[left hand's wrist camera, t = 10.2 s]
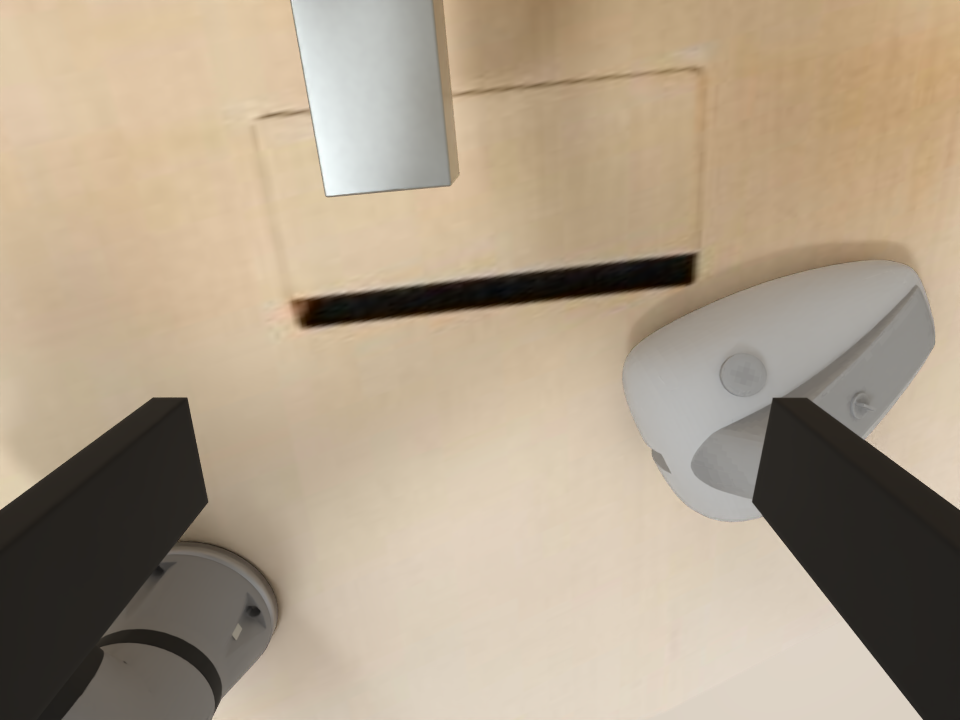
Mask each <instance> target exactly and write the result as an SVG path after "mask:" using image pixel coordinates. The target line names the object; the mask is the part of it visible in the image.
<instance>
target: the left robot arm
mask: <svg viewBox="0 0 960 720" xmlns="http://www.w3.org/2000/svg"><path fill="white" fill-rule="evenodd" d="M207 503H208V498H207V493H206V489H205V484H204V479H203V474H202V469H201V464H200V459H199V454H198V449H197V444H196V439H195V434H194V429H193V424H192V419H191V414H190V409H189V404H188V399H187V398H152V399H151V400H149V401H148V402H146V403H145V404H144V405H142V406H141V407H140V408H138V409H137V410H136V411H134V412H133V413H132V414H130V415H129V416H127V417H126V418H125V419H123V420H122V421H121V422H119V423H118V424H117V425H115V426H114V427H113V428H111V429H110V430H108V431H107V432H106V433H104V434H103V435H102V436H100V437H99V438H98V439H96V440H95V441H94V442H92V443H91V444H89V445H88V446H87V447H85V448H84V449H83V450H81V451H80V452H79V453H77V454H76V455H75V456H73V457H72V458H70V459H69V460H68V461H66V462H65V463H64V464H62V465H61V466H60V467H58V468H57V469H55V470H54V471H53V472H51V473H50V474H49V475H47V476H46V477H45V478H43V479H42V480H41V481H39V482H38V483H36V484H35V485H34V486H32V487H31V488H30V489H28V490H27V491H26V492H24V493H23V494H22V495H20V496H19V497H17V498H16V499H15V500H13V501H12V502H11V503H9V504H8V505H7V506H5V507H4V508H3V509H1V510H0V720H212V717H213V715H214V713H215V711H216V709H217V707H218V705H219V703H220V701H221V699H222V698H223V697H224V696H225V694H226V693H227V692H228V691H229V690H230V689H231V688H232V687H233V686H234V685H235V684H236V683H237V681H238V680H239V679H240V678H241V677H242V676H243V675H244V674H245V673H246V672H247V671H248V670H249V668H250V667H251V666H252V665H253V664H254V663H255V662H256V661H257V660H258V659H259V657H260V656H261V655H262V654H263V652H264V651H265V650H266V648H267V646H268V644H269V642H270V639H271V637H272V635H273V632H274V630H275V627H276V624H277V620H278V606H277V601H276V598H275V595H274V593H273V590H272V588H271V587H270V585H269V583H268V582H267V580H266V579H265V578H264V577H263V575H262V574H261V573H260V572H259V571H258V570H257V569H256V568H255V567H254V566H252V565H251V564H250V563H249V562H247V561H246V560H244V559H243V558H241V557H240V556H238V555H236V554H234V553H232V552H230V551H228V550H225V549H223V548H220V547H217V546H213V545H209V544H204V543H197V542H177V541H178V540H179V539H180V537H181V536H182V535H183V533H184V532H185V531H186V530H187V528H188V527H189V526H190V525H191V523H192V522H193V521H194V519H195V518H196V517H197V516H198V514H199V513H200V512H201V511H202V509H203V508H204V507H205V506H206V504H207ZM752 503H753V504H754V506H755V507H756V508H757V509H758V511H759V512H760V513H761V514H762V516H763V517H764V518H765V519H766V521H767V522H768V523H769V525H770V526H771V527H772V528H773V530H774V531H775V532H776V533H777V535H778V536H779V537H780V539H781V540H782V541H783V542H784V544H785V545H786V546H787V547H788V549H789V550H790V551H791V553H792V554H793V555H794V556H795V558H796V559H797V560H798V561H799V563H800V564H801V565H802V566H803V568H804V569H805V570H806V572H807V573H808V574H809V575H810V577H811V578H812V579H813V580H814V582H815V583H816V584H817V586H818V587H819V588H820V589H821V591H822V592H823V593H824V594H825V596H826V597H827V598H828V600H829V601H830V602H831V603H832V605H833V606H834V607H835V608H836V610H837V611H838V612H839V613H840V615H841V616H842V617H843V619H844V620H845V621H846V622H847V624H848V625H849V626H850V627H851V629H852V630H853V631H854V633H855V634H856V635H857V636H858V638H859V639H860V640H861V641H862V643H863V644H864V645H865V646H866V648H867V649H868V650H869V652H870V653H871V654H872V655H873V657H874V658H875V659H876V660H877V662H878V663H879V664H880V666H881V667H882V668H883V669H884V671H885V672H886V673H887V674H888V676H889V677H890V678H891V679H892V681H893V682H894V683H895V685H896V686H897V687H898V688H899V690H900V691H901V692H902V693H903V695H904V696H905V697H906V699H907V700H908V701H909V702H910V704H911V705H912V706H913V707H914V709H915V710H916V711H917V713H918V714H919V715H920V716H921V718H922V719H923V720H960V510H959V509H957V508H956V507H955V506H953V505H952V504H951V503H949V502H948V501H947V500H945V499H944V498H943V497H941V496H940V495H938V494H937V493H936V492H934V491H933V490H932V489H930V488H929V487H928V486H926V485H925V484H924V483H922V482H921V481H919V480H918V479H917V478H915V477H914V476H913V475H911V474H910V473H909V472H907V471H906V470H904V469H903V468H902V467H900V466H899V465H898V464H896V463H895V462H894V461H892V460H891V459H890V458H888V457H887V456H885V455H884V454H883V453H881V452H880V451H879V450H877V449H876V448H875V447H873V446H872V445H871V444H869V443H868V442H866V441H865V440H864V439H862V438H861V437H860V436H858V435H857V434H856V433H854V432H853V431H852V430H850V429H849V428H847V427H846V426H845V425H843V424H842V423H841V422H839V421H838V420H837V419H835V418H834V417H833V416H831V415H830V414H828V413H827V412H826V411H824V410H823V409H822V408H820V407H819V406H818V405H816V404H815V403H814V402H812V401H811V400H809V399H808V398H773V399H772V404H771V409H770V414H769V419H768V424H767V429H766V434H765V439H764V444H763V449H762V454H761V459H760V464H759V469H758V474H757V479H756V484H755V489H754V493H753V498H752Z"/></svg>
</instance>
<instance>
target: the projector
mask: <svg viewBox="0 0 960 720" xmlns="http://www.w3.org/2000/svg"><path fill="white" fill-rule="evenodd" d="M934 345H935V327H934V320H933V316H932V312H931V309H930V305H929V301H928V298H927V295H926V292H925V289H924V287H923V284H922V282H921V280H920V278H919V276H918V275H917V273H916V272H915V271H914V270H913V269H912V268H911V267H909V266H908V265H905V264H902V263H899V262H894V261H889V260H865V261H856V262H849V263H842V264H836V265H831V266H826V267H821V268H816V269H811V270H807V271H803V272H799V273H795V274H792V275H788V276H784V277H781V278H777V279H774V280H771V281H768V282H765V283H762V284H759V285H756V286H753V287H750V288H748V289H745V290H742V291H739V292H737V293H734V294H732V295H729V296H727V297H725V298H722V299H720V300H717V301H715V302H713V303H710V304H708V305H706V306H704V307H702V308H699V309H697V310H695V311H693V312H691V313H689V314H687V315H685V316H683V317H681V318H679V319H677V320H675V321H673V322H671V323H669V324H667V325H665V326H664V327H662V328H660V329H659V330H657V331H655V332H654V333H652V334H650V335H649V336H647V337H646V338H645V339H643V340H642V341H641V342H639V343H638V344H637V345H636V346H635V347H634V348H633V349H632V350H631V352H630V353H629V354H628V356H627V358H626V360H625V363H624V366H623V372H622V381H623V388H624V393H625V397H626V400H627V403H628V406H629V409H630V412H631V414H632V417H633V419H634V421H635V423H636V426H637V428H638V430H639V432H640V434H641V436H642V438H643V440H644V442H645V443H646V444H647V445H648V446H649V447H650V448H651V449H652V457H653V459H654V461H655V463H656V465H657V467H658V469H659V470H660V472H661V474H662V475H663V477H664V479H665V480H666V482H667V483H668V485H669V486H670V487H671V489H672V490H673V491H674V493H675V494H676V495H677V496H678V497H679V498H680V499H681V500H682V501H683V502H684V503H685V504H686V505H687V506H688V507H690V508H691V509H693V510H694V511H696V512H698V513H700V514H702V515H703V516H706V517H708V518H711V519H715V520H719V521H726V522H738V521H747V520H752V519H756V518H760V517H763V516H762V514H761V513H760V512H759V511H758V509H757V508H756V507H755V506H754V504H753V503H752V498H753V493H754V489H755V484H756V479H757V474H758V469H759V464H760V459H761V454H762V449H763V444H764V439H765V434H766V429H767V424H768V419H769V414H770V409H771V404H772V399H773V398H808V399H809V400H811V401H812V402H814V403H815V404H816V405H818V406H819V407H820V408H822V409H823V410H824V411H826V412H827V413H828V414H830V415H831V416H833V417H834V418H835V419H837V420H838V421H839V422H841V423H842V424H843V425H845V426H846V427H847V428H849V429H850V430H852V431H853V432H854V433H856V434H857V435H858V436H860V437H861V438H862V439H864V440H865V439H866V438H867V436H868V435H869V434H870V433H871V432H872V431H873V430H874V428H875V427H876V426H877V425H878V424H879V422H880V421H881V420H882V419H883V418H884V416H885V415H886V414H887V413H888V412H889V410H890V409H891V408H892V406H893V405H894V404H895V403H896V401H897V400H898V399H899V397H900V396H901V395H902V394H903V392H904V391H905V390H906V388H907V387H908V386H909V384H910V383H911V381H912V380H913V379H914V377H915V376H916V374H917V373H918V371H919V370H920V369H921V367H922V366H923V364H924V362H925V361H926V359H927V357H928V356H929V354H930V352H931V350H932V349H933V347H934Z"/></svg>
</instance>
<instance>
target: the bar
mask: <svg viewBox="0 0 960 720" xmlns="http://www.w3.org/2000/svg"><path fill="white" fill-rule="evenodd" d="M290 2H291V7H292V13H293V19H294V24H295V30H296V35H297V41H298V47H299V52H300V58H301V63H302V69H303V74H304V80H305V86H306V91H307V97H308V102H309V108H310V113H311V119H312V125H313V130H314V136H315V141H316V147H317V152H318V158H319V164H320V169H321V175H322V180H323V186H324V191H325V196H326V197H337V196H348V195H359V194H370V193H381V192H391V191H402V190H413V189H424V188H435V187H446V186H451V185H452V184H453V182H454V181H455V180H456V179H457V178H458V176H459V164H458V153H457V143H456V132H455V122H454V111H453V101H452V90H451V80H450V69H449V59H448V48H447V38H446V27H445V17H444V6H443V0H290Z"/></svg>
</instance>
